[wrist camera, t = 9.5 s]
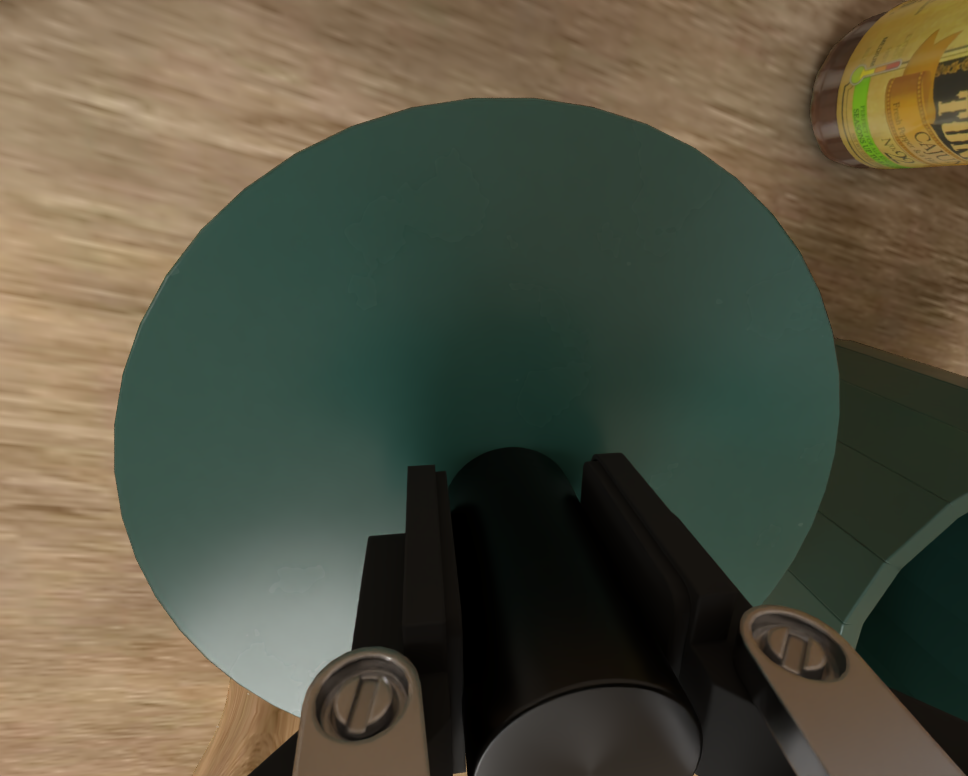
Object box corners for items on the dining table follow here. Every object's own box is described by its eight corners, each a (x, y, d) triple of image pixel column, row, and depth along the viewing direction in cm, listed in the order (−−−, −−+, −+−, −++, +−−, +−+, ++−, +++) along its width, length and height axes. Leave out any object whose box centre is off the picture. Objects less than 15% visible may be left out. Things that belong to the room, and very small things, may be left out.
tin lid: (-16, 218, 9) (-1104, 249, 2) (811, 26, 9) (1599, -335, 3) (297, 766, 14) (206, 1191, 8) (797, 623, 15) (1066, 919, 9)
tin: (649, 373, 26) (838, 511, 14) (906, 305, 27) (1288, 385, 15) (669, 580, 32) (819, 802, 20) (883, 520, 32) (1151, 701, 21)
